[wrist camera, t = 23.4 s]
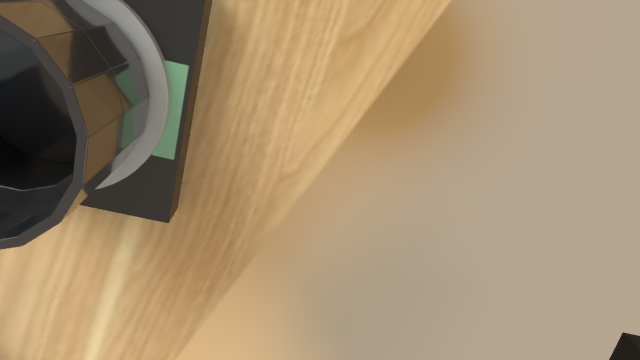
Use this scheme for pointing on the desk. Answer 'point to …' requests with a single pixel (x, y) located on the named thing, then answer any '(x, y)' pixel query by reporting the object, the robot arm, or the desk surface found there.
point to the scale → (157, 103)
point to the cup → (62, 110)
